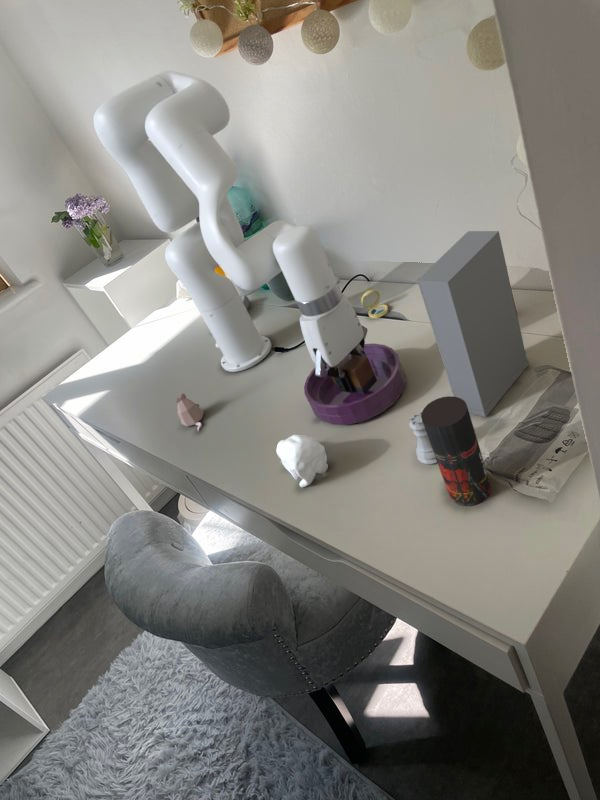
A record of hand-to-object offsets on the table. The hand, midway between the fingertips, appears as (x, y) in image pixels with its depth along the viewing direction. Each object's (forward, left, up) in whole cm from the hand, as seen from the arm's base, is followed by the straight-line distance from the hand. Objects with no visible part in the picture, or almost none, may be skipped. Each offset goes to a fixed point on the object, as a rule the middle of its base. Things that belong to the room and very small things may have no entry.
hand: (355, 382), depth 113 cm
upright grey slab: (+23, +8, -3) cm, 24 cm away
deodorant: (+31, -13, -3) cm, 33 cm away
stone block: (-58, +16, -3) cm, 61 cm away
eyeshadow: (-14, +25, -3) cm, 29 cm away
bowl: (0, 0, -3) cm, 3 cm away
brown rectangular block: (0, 0, -1) cm, 1 cm away
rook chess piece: (+22, -9, -3) cm, 24 cm away
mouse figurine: (-32, -18, -3) cm, 37 cm away
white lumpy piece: (+3, -19, -3) cm, 20 cm away
